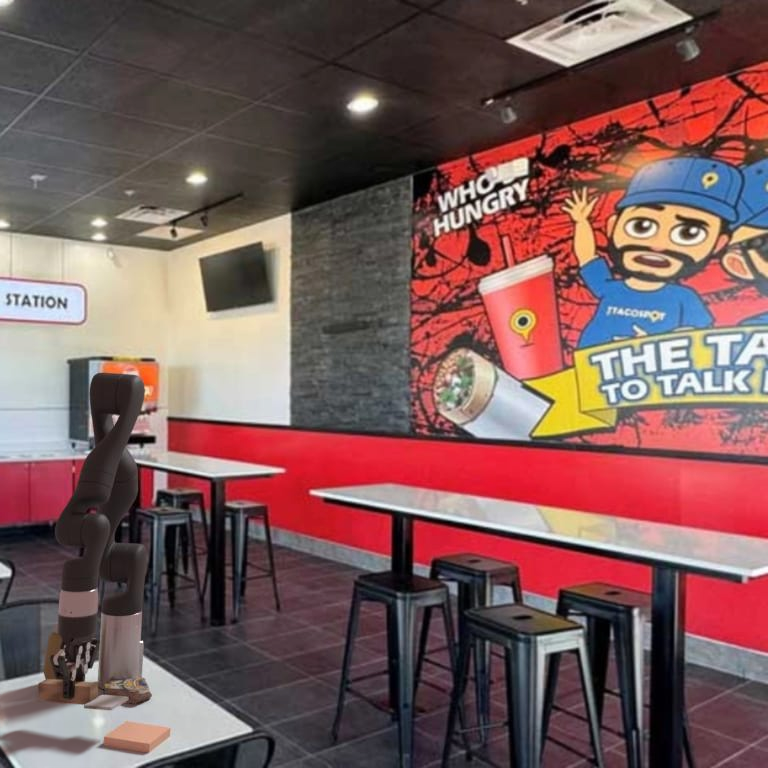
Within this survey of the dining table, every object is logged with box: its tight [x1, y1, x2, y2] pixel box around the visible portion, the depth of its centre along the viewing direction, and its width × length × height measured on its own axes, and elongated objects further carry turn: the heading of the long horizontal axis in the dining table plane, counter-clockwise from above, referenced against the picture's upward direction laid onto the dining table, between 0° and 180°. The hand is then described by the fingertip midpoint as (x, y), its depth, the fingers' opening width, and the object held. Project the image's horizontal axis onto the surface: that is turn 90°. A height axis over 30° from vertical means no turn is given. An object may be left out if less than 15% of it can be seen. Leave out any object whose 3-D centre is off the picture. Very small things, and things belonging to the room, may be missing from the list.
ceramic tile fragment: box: [104, 677, 153, 705], centre depth 177 cm, size 12×3×10 cm
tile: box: [103, 720, 171, 753], centre depth 154 cm, size 2×8×10 cm
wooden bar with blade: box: [38, 679, 129, 711], centre depth 157 cm, size 18×6×4 cm, turn 76°
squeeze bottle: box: [42, 622, 80, 680], centre depth 181 cm, size 8×8×18 cm
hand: (73, 695), depth 158 cm, fingers closed on wooden bar with blade, 2 cm apart
